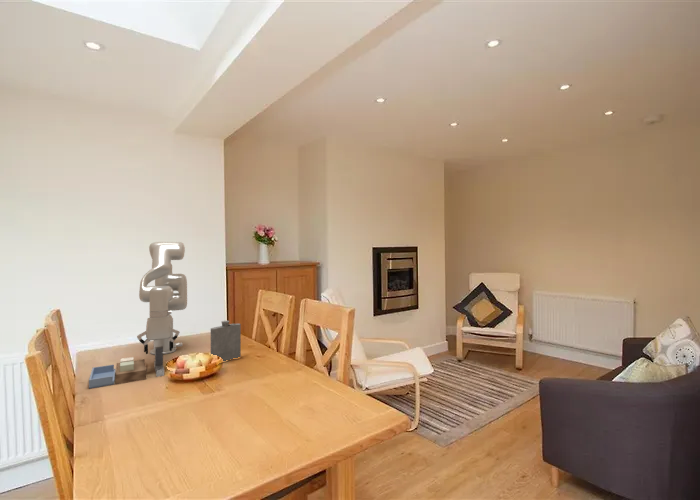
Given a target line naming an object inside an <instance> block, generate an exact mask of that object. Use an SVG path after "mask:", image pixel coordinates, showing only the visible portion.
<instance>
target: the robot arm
mask: <svg viewBox="0 0 700 500" xmlns="http://www.w3.org/2000/svg"><path fill="white" fill-rule="evenodd" d="M148 248H149V254H150V257H151V269H149V270H148V271H147V272H146V273H145V274H144V275H142V278H141V280H140V284H139V293H138V297H139V300H140V301H141V302H142V303H149V317H147V319H146V328H145V331H143V332H141V333H139V334H137V335H136V338H137V340H138V341H139V343H140V344H142V345H143V346H144V347H143V352H144V353H145V355H148V354H149V353H150V354H151V355H155V347H161V346H162V347H163V355H167V354H171V353H174V352H176V351H177V348H178V347H183V342H174V341H176V339H178V337H179V335H180V330H178V329H174V318H173V315H172V311H173V312H174V311H184V310H185V309H187V307H188V280H187V276H186V274H183V273H173V265H172V261H181V260H183V259H184V257H185V253H186V249H185V248H186V247H185V244H184V243H183V242H182V241H155V242H152V243H150V244H149V246H148ZM152 281H154V285H152V286H151V285H149V284H150V283H151V282H152ZM174 333H175V334H174ZM144 336H145V338H146V339H143V338H142V337H144ZM150 341H153V348H152V349H150V352H149V344H148V343H149V342H150Z"/></svg>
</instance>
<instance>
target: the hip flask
mask: <svg viewBox="0 0 700 500" xmlns="http://www.w3.org/2000/svg"><path fill="white" fill-rule="evenodd" d="M241 325H242V324H241V323H230V320H222V321H221V325H219V326H215V327H211V328H210V355H211V354H213V355H217V356H219V357H221V358H222V359H223V361H226V360H230V359H233V358H238V357H242V356H241V353H242V352H241V350H242V349H241V347H242V346H241V342H242V341H241V336H242V335H241V334H242V333H241V331H242V330H241Z"/></svg>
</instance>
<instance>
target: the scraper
mask: <svg viewBox="0 0 700 500" xmlns="http://www.w3.org/2000/svg"><path fill="white" fill-rule="evenodd" d="M153 367H154V371H155V376H156V377H157V378H158V377H164V376H165V367H164V354H163V347H162V346H161V347H155V354H154V361H153Z"/></svg>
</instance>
